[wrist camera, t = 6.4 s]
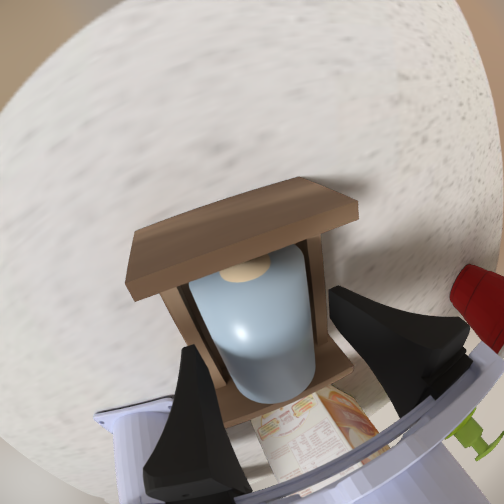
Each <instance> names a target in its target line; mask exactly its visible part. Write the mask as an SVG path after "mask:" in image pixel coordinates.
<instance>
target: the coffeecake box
mask: <svg viewBox="0 0 504 504" xmlns="http://www.w3.org/2000/svg"><path fill="white" fill-rule="evenodd" d="M250 421H251V423H252V426H253V428H254V430H255V433H256V435H257V437H258V440H259V442H260V444H261V447H262V449H263V451H264V453H265V456H266V458H267V460H268V462H269V464H270V467H271V469H272V471H273V473H274V475H275V477H276V479H277V482H278V484H279V483H282V482H284V481H287V480H290V479H292V478H295V477H297V476H299V475H302V474H304V473H306V472H309V471H311V470H313V469H315V468H317V467H320V466H322V465H324V464H326V463H328V462H330V461H332V460H334V459H336V458H338V457H340V456H341V455H343V454H345V453H347V452H349V451H351V450H352V449H354V448H356V447H358V446H359V445H361V444H363V443H364V442H366V441H368V440H369V439H371V438H372V437H374V436H376V435H377V434H379V432H378V431H377V429H376V428H375V427H374V425H373V424H372V423H371V422H370V420H369V419H368V417H367V416H366V414H365V413H364V412H363V410H362V409H361V408H360V406H359V405H358V403H357V402H356V400H355V399H354V398H353V397H351V396H349V395H347V394H345V393H344V392H342V391H340V390H338V389H337V388H335V387H333V386H331V385H328V386H326V387H324V388H322V389H320V390H318V391H316V392H314V393H312V394H310V395H308V396H306V397H304V398H302V399H300V400H297V401H295V402H293V403H291V404H288V405H286V406H284V407H281V408H279V409H277V410H274V411H272V412H269V413H267V414H264V415H262V416H259V417H256V418H254V419H251V420H250ZM389 449H390V447H389V445H388V444H387V445H386V446H384V447H383V448H381V449H380V450H378V451H377V452H375V453H373V454H372V455H370V456H369V457H367V458H365V459H364V460H362V461H360V462H358V463H357V464H355V465H353V466H351V467H349V468H348V469H346V470H344V471H342V472H340V473H338V474H336V475H334V476H332V477H330V478H328V479H326V480H324V481H322V482H320V483H317V484H315V485H313V486H311V487H308V488H306V489H304V490H301V491H299V492H296V493H294V494H291V495H295V494H299V495H300V497H305V496H307V495H309V494H311V493H313V492H315V491H317V490H319V489H321V488H323V487H325V486H327V485H329V484H331V483H333V482H335V481H337V480H339V479H340V478H342V477H344V476H346V475H347V474H349V473H351V472H353V471H355V470H356V469H358V468H360V467H361V466H363V465H365V464H366V463H368V462H370V461H371V460H373V459H374V458H376V457H378V456H379V455H381V454H382V453H384V452H386V451H387V450H389ZM291 495H289V496H291ZM286 497H288V496H286Z"/></svg>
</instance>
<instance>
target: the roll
mask: <svg viewBox="0 0 504 504" xmlns="http://www.w3.org/2000/svg"><path fill="white" fill-rule="evenodd" d="M189 288H190V290H191V293H192V295H193V297H194V300H195V302H196V304H197V306H198V309H199V311H200V313H201V315H202V317H203V320H204V322H205V324H206V326H207V328H208V330H209V332H210V335H211V337H212V339H213V341H214V343H215V345H216V347H217V349H218V351H219V353H220V355H221V357H222V359H223V361H224V363H225V365H226V367H227V369H228V371H229V373H230V375H231V377H232V379H233V381H234V383H235V385H236V387H237V388H238V390H239V391H240V392H241V393H242V394H243V395H244V396H245V397H247V398H249V399H251V400H253V401H255V402H259V403H266V404H275V403H281V402H284V401H287V400H290V399H292V398H294V397H296V396H298V395H299V394H300V393H302V392H303V391H304V390H305V389H306V388H307V387H308V385H309V384H310V383H311V381H312V379H313V377H314V374H315V367H316V365H315V353H314V341H313V331H312V321H311V311H310V302H309V293H308V285H307V277H306V269H305V262H304V256H303V253H302V251H301V250H300V249H299V248H298V247H297V246H296V245H295V244H292V245H289V246H286V247H284V248H281V249H278V250H276V251H273V252H270V253H268V254H265V255H262V256H259V257H257V258H254V259H251V260H249V261H246V262H243V263H241V264H238V265H235V266H232V267H230V268H227V269H224V270H221V271H219V272H216V273H213V274H211V275H208V276H205V277H202V278H200V279H197V280H194V281H191V282H189Z"/></svg>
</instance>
